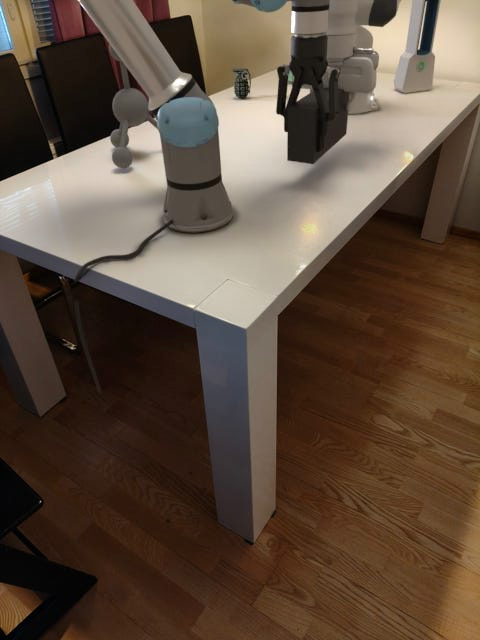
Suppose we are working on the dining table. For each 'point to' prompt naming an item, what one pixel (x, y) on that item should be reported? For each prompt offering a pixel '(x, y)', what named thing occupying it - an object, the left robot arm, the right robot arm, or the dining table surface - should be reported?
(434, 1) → the electronic device
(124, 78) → the molecular model
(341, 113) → the box
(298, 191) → the dining table surface
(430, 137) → the dining table surface
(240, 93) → the grenade
